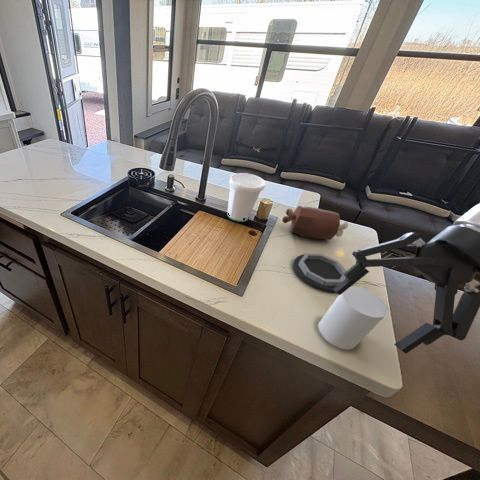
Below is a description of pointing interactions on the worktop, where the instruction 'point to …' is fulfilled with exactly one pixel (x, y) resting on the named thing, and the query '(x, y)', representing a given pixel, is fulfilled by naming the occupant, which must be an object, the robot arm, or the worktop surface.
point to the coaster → (319, 271)
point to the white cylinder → (352, 317)
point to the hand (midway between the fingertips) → (366, 319)
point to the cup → (243, 195)
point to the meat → (315, 222)
